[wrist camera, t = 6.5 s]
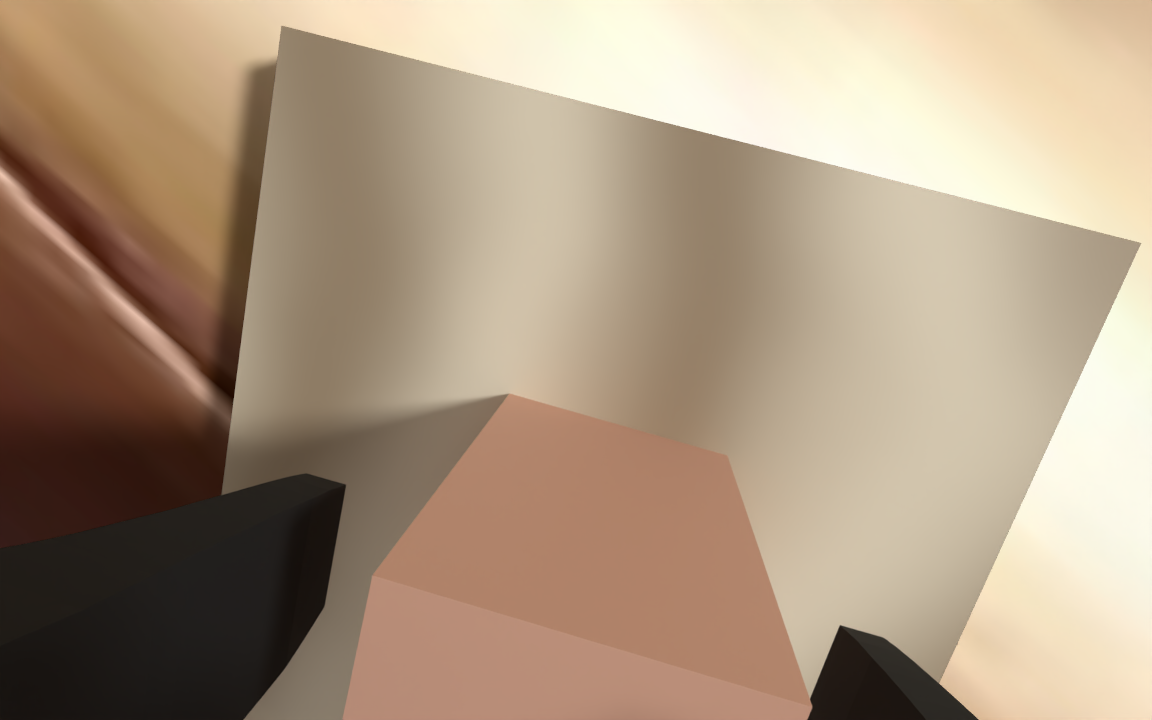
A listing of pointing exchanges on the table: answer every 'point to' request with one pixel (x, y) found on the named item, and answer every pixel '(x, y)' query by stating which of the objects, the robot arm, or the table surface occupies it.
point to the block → (576, 587)
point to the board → (647, 336)
